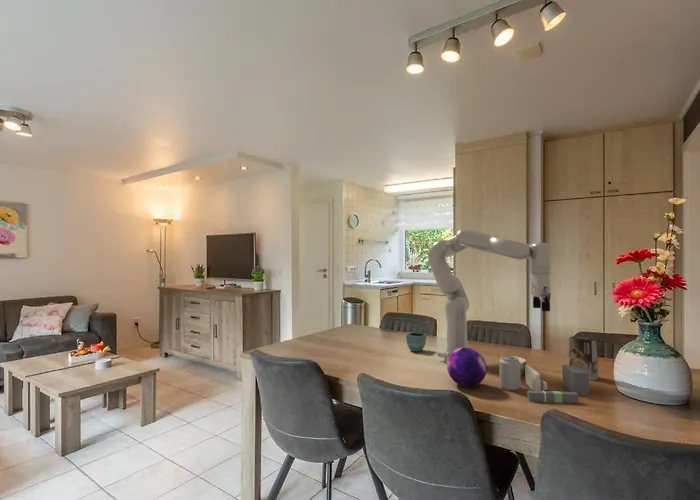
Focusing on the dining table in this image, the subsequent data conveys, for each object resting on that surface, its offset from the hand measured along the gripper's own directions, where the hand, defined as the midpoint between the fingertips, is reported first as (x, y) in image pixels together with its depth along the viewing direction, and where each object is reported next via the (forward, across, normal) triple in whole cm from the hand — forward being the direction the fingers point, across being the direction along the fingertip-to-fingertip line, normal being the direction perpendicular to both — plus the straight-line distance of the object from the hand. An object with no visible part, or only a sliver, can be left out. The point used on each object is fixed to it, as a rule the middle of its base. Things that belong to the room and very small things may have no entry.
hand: (541, 309), depth 164 cm
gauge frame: (+27, +27, -6) cm, 39 cm away
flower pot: (+28, -34, -53) cm, 68 cm away
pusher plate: (+27, +25, -11) cm, 38 cm away
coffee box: (+27, +7, +14) cm, 31 cm away
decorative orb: (+28, +21, -37) cm, 50 cm away
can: (+28, +22, -21) cm, 41 cm away
